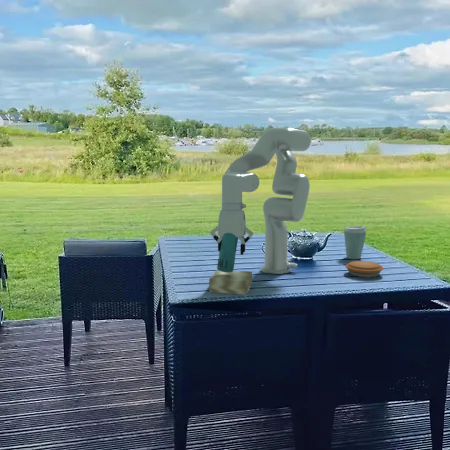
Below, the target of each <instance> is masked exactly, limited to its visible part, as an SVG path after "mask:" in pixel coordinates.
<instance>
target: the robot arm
mask: <svg viewBox="0 0 450 450" xmlns="http://www.w3.org/2000/svg"><path fill="white" fill-rule="evenodd" d="M311 141H312V139H311V135H310V133H309V132H308V131H306V130H302V129H296V128H292V127H270V128H267V129H266V130H264V131H263V133H262V134H261V136H260V137H259V138H258V140H257V141H256V144H255V145H254V146H253V148H252V149H251V150H250V151H248V152H247V153H244V154H243V155H241V156H239V157H238V158H236V159H235V160H234V161H232V163H230V164H229V166H228V168H227V169H226V171H225V173H224V174H223V175H222V177H221V209H220V210H219V215H218V222H217V223H218V224H217V226H216V227H215V228H213V229H212V230H210V232H209V234H210V235H211V236H212V238H213V239H214V240H215V242H216V243H217V252H218V255H219V254H220V249H221V248H220V247H221V240H222V237H223V235H224V234H225V233H232V234H234V235H235V236H236V237H237V238H238V240H239V241H240V255H241V256H243V254H244V253H246V244H247V242H248V241H249V240H250V239H251V238H252V237H253V236H254V232H253V231H251V230H250V229H249V228H248V227H247V226H246V225H247V224H246V214H245V213H246V212H245V210H244V209H245V208H247V205H246V204H244V203H243V193H253V192H255V191H256V190H257V189H258V188H259V186H260V178H259V177H258V175H257V174H256V173H254V172H250V171H253V170H256V169H260V168H263V167H265V166H268V165H269V164H270V163H271V161H272V159H273V157H274V156H276V167H275V171H274V176H273V180H272V184H271V185H272V186H271V187H272V188H271V189H272V192H273V193H274V194H275V195H277V196H276V197H275V196H272V197H269V198H267V199H266V200H265V201H264V203H263V207H262V209H263V210H262V211H263V217H264V227H265V228H264V231H265V232H264V234H265V235H264V265H262V266H261V267H260V271H261V272H262V273H265V274H271V275H284V273H285V274H288V273H290V272H291V269H298V263H295V262H290V261H289V259H288V235H289V234H288V227H287V225H286V223H285V222H290V223H291V222H292V223H297V222H300V221H302V219H303V217H304V215H305V210H306V206H307V202H308V198H309V194H310V187H311V186H310V180H309V177H308V176H307V175H305V174H302V173H296V172H297V167H298V162H297V159H296V157H295V156H294V154H293V152H304V151H307V150H308V149H309V148H310V146H311V143H312V142H311ZM278 195H279V196H278ZM280 196H286V197H280ZM288 197H289V198H288ZM290 197H292V198H290ZM216 232H217V234H216ZM246 234H248V235H247V237H246V238H245V235H246Z"/></svg>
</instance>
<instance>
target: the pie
mask: <svg viewBox="0 0 450 450" xmlns="http://www.w3.org/2000/svg"><path fill="white" fill-rule="evenodd" d="M344 266H345V268H346V269H347V270H348V273H349V274H350V275H351V276H353V275H354V276H353V277H355V276H358V277H357V278H361V277H373V278H376V276H377V277H378V276H379V275H380V274H381V272H382V271H383V270H384V266H382V265H381V264H380V263H377V262H374V261H369V260H353V261H350V262H349V263H347V264H345V265H344Z"/></svg>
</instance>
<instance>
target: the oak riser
mask: <svg viewBox="0 0 450 450" xmlns="http://www.w3.org/2000/svg"><path fill="white" fill-rule="evenodd" d="M208 281H209V284H208V285H209V286H208V289H209V290H208V291H209V293H215V294H216V293H219V294H233V295H247V294H248V292H249V291H250V288H251V287H252V285H253V271H245V270H244V271H243V270H233V272H231V273H228V272H222V271H219V270H217V269H216V270H215V271H214V273H213V274H212V275H211V277H210V278H209V280H208Z"/></svg>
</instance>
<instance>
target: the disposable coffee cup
mask: <svg viewBox="0 0 450 450" xmlns="http://www.w3.org/2000/svg"><path fill="white" fill-rule="evenodd" d="M343 235H344V245H345V255H346V257H347V259H351V260H359V259H361V257H362V255H363V250H364V244H365V239H366V235H367V229H366V226H364V225H363V226H362V225H356V226H355V225H353V226H346V227H345V228H343Z"/></svg>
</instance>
